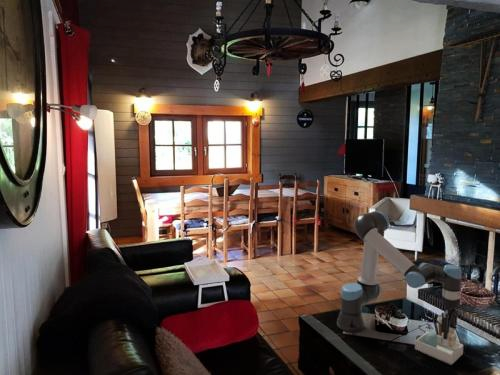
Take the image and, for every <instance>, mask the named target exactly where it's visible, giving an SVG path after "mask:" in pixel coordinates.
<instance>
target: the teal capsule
mask: <svg viewBox="0 0 500 375" xmlns="http://www.w3.org/2000/svg"><path fill="white" fill-rule="evenodd" d="M437 335H438V334H436V333H435V332H431V331H429V332H428V333H427V335H426V344H428V345H430V346H433V347H435V348H437V337H438V336H437Z"/></svg>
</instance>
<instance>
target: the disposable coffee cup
mask: <svg viewBox="0 0 500 375" xmlns="http://www.w3.org/2000/svg"><path fill="white" fill-rule="evenodd" d="M437 316H438V317H437V318H436V320H437V327H438V328H437V329H438V335H439V336H442V333H443V332H441V325H442V314H439V315H437ZM455 327H457V326H455ZM454 329H455V328H454ZM455 332H456V329H455V330H454V333H455Z"/></svg>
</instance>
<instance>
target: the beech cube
mask: <svg viewBox="0 0 500 375" xmlns="http://www.w3.org/2000/svg"><path fill="white" fill-rule="evenodd" d="M449 333H450V335H449V346H450V347H453V346H454V345H455V344H456V342H457V333H455V332H454V333H452V332H450V331H449ZM442 342H443V333H442V336H441V343H442Z"/></svg>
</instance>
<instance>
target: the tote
mask: <svg viewBox="0 0 500 375" xmlns="http://www.w3.org/2000/svg"><path fill="white" fill-rule="evenodd" d="M428 332H430V331H428V330H427V331H426V332H424V333H423V334H422V335H421V336H419V337H418V338H417V339H415V341H414V350H415V351H417V350H418V351H417V352H419V351H420V353H423V354H424V355H426V354H427V356H429V357H432V358H433V359H436V360H439V361H440V362H443V363H445V364H447V365H449V366H453V364H455V362H457V360H459V359H460V357H462V356H463V354H464V344H462V343H460V342H457V341H456V344H455V345H454V346H453V347H450V346H447V345H444V344H442V343H441V336H439V334H437V336H438V337H437V348H435V347H433V346H430V345H428V344H426V335H427V333H428Z"/></svg>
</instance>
